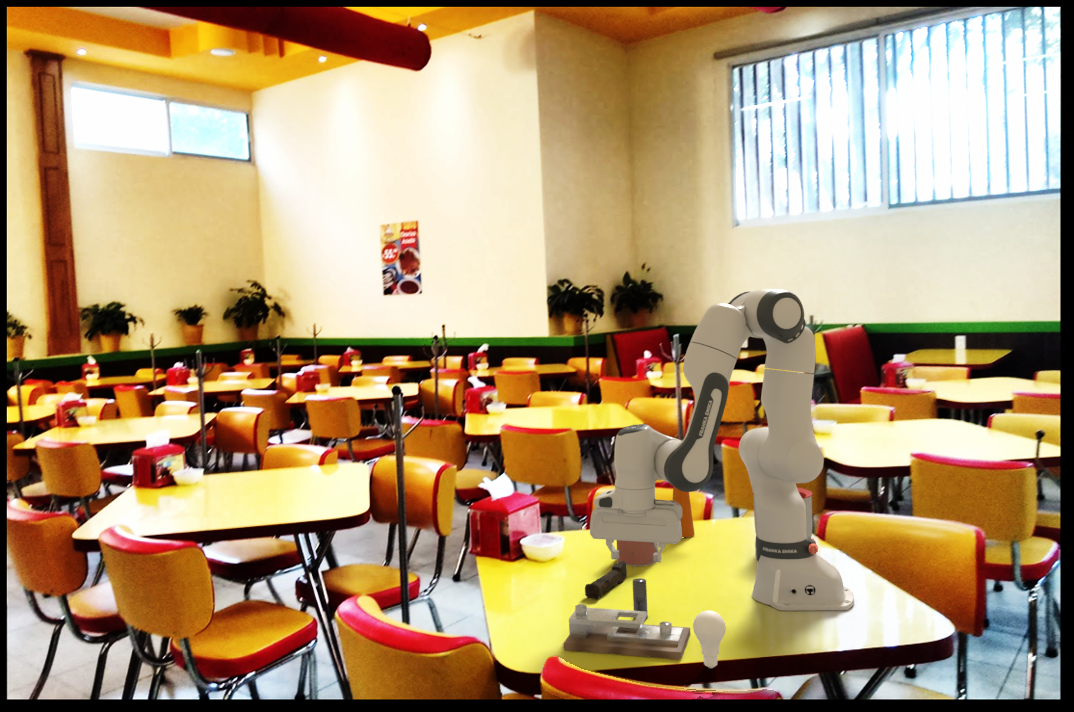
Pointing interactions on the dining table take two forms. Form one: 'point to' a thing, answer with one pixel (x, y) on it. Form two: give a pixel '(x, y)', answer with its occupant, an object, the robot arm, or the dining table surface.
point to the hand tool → (606, 581)
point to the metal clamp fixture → (622, 626)
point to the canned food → (636, 552)
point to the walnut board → (625, 645)
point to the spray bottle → (684, 512)
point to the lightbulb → (709, 635)
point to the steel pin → (640, 595)
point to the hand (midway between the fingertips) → (636, 560)
